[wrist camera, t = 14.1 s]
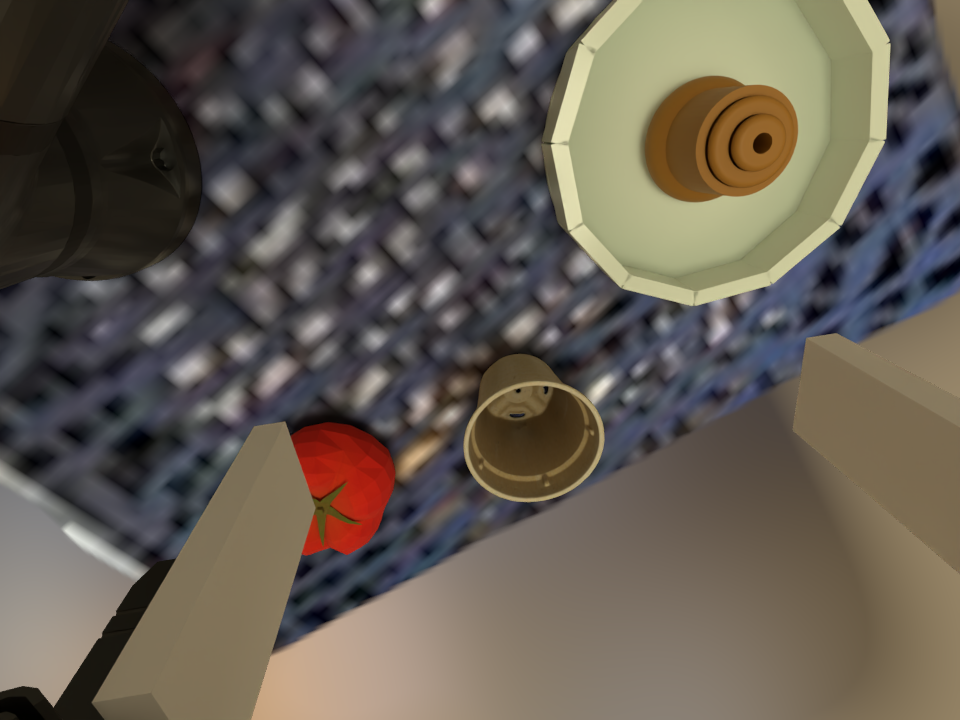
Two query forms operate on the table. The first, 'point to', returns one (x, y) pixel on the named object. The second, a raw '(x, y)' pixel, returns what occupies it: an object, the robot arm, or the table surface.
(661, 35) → the bowl
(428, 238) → the table surface
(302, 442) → the tomato
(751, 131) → the ornamental finial
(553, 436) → the flower pot
